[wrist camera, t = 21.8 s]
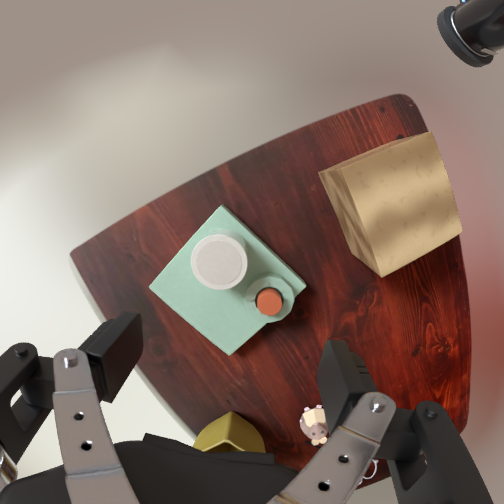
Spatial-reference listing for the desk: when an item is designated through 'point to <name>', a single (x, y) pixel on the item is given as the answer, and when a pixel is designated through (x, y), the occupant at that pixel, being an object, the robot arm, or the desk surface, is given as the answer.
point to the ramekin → (220, 259)
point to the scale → (230, 300)
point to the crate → (394, 202)
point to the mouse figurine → (314, 424)
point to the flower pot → (229, 436)
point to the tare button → (269, 302)
